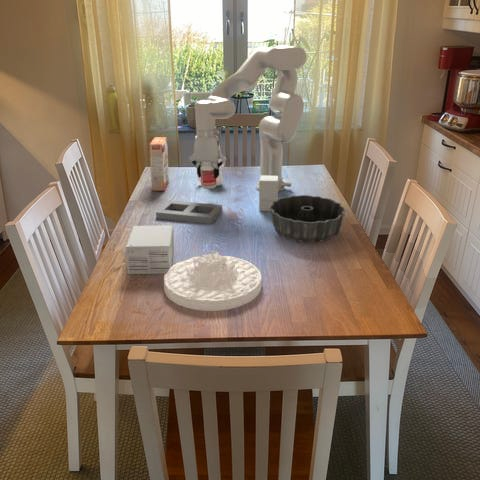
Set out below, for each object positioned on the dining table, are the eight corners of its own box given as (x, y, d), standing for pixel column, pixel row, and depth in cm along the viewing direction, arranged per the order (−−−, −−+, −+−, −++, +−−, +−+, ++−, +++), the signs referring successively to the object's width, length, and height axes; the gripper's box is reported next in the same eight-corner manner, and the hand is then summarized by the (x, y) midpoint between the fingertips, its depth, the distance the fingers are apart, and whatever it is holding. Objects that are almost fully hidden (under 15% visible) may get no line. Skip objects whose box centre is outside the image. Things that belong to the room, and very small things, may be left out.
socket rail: (222, 211, 208) (222, 205, 207) (211, 223, 195) (211, 217, 194) (169, 206, 212) (169, 200, 211) (156, 218, 200) (155, 212, 199)
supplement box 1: (171, 274, 159) (169, 245, 155) (127, 275, 158) (124, 246, 154) (174, 250, 174) (173, 224, 170) (134, 251, 173) (132, 224, 170)
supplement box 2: (277, 205, 214) (278, 175, 209) (277, 211, 207) (278, 181, 202) (259, 204, 215) (260, 174, 210) (258, 211, 208) (259, 180, 203)
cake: (209, 257, 170) (209, 229, 166) (280, 283, 154) (281, 254, 150) (143, 289, 150) (141, 259, 147) (216, 324, 134) (216, 291, 130)
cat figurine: (225, 187, 235) (225, 154, 229) (197, 188, 233) (196, 155, 227) (223, 181, 243) (223, 149, 237) (196, 182, 242) (195, 150, 236)
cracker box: (165, 191, 229) (162, 144, 221) (151, 191, 229) (148, 144, 221) (169, 181, 242) (167, 136, 234) (156, 181, 242) (154, 136, 234)
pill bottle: (219, 187, 215) (218, 160, 210) (206, 190, 212) (204, 163, 207) (211, 183, 219) (210, 157, 215) (198, 186, 216) (197, 160, 212)
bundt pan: (347, 250, 175) (350, 222, 171) (268, 248, 176) (269, 220, 172) (339, 221, 199) (341, 196, 195) (269, 219, 200) (270, 194, 196)
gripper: (229, 131, 207) (231, 175, 215) (188, 130, 211) (191, 173, 219) (224, 136, 201) (226, 181, 208) (182, 134, 205) (185, 178, 212)
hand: (208, 176), depth 214 cm, fingers closed on pill bottle, 6 cm apart
